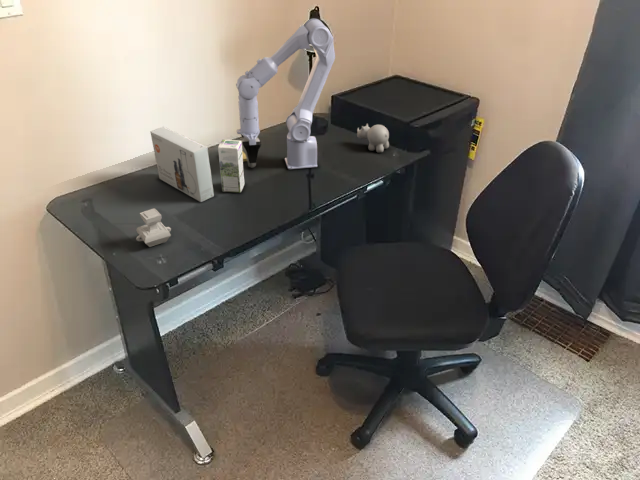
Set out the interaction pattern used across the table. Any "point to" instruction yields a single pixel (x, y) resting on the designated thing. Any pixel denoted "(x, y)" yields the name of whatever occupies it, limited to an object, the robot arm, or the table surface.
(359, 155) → the table surface
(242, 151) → the sticky note pad
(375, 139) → the toy rhinoceros
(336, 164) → the table surface
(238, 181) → the syrup box
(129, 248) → the table surface
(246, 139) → the lightbulb
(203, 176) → the skincare box
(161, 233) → the stamp
